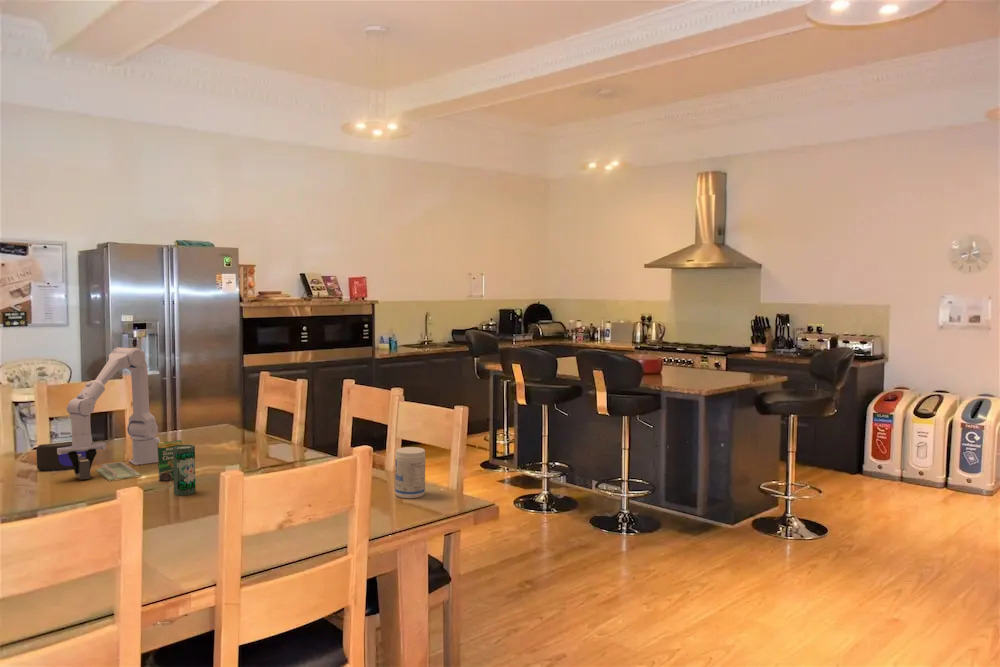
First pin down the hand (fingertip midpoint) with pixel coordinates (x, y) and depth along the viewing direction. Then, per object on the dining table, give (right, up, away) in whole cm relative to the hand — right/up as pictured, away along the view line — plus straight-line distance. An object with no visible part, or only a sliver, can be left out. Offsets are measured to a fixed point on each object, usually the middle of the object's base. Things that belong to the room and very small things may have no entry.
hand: (82, 472), depth 263 cm
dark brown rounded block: (-15, -1, +14) cm, 20 cm away
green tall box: (+42, -4, -17) cm, 45 cm away
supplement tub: (+114, -4, -17) cm, 115 cm away
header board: (+9, -2, +6) cm, 11 cm away
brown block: (0, -1, 0) cm, 2 cm away
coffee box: (+30, -3, 0) cm, 31 cm away
